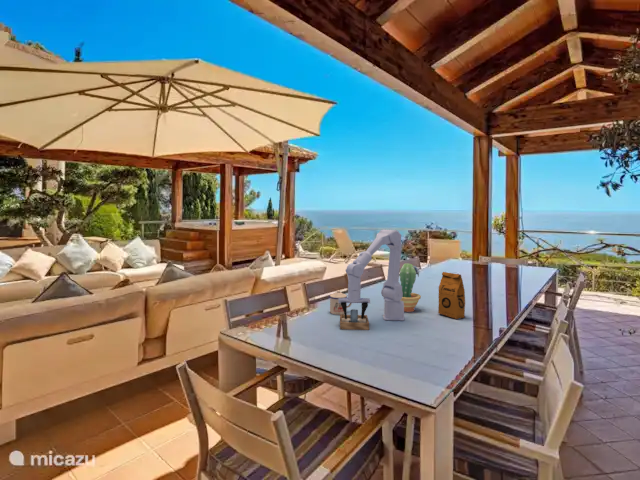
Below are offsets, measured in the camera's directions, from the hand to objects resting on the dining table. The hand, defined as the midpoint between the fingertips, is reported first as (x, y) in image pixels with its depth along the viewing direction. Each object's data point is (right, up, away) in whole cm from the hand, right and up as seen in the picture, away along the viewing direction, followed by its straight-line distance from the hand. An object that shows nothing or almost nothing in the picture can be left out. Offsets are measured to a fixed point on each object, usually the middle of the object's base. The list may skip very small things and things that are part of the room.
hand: (354, 318), depth 171 cm
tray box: (0, -3, 0) cm, 3 cm away
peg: (0, -3, 0) cm, 3 cm away
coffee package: (+51, -2, +16) cm, 53 cm away
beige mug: (-5, -2, +22) cm, 23 cm away
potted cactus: (+31, -1, +28) cm, 42 cm away
